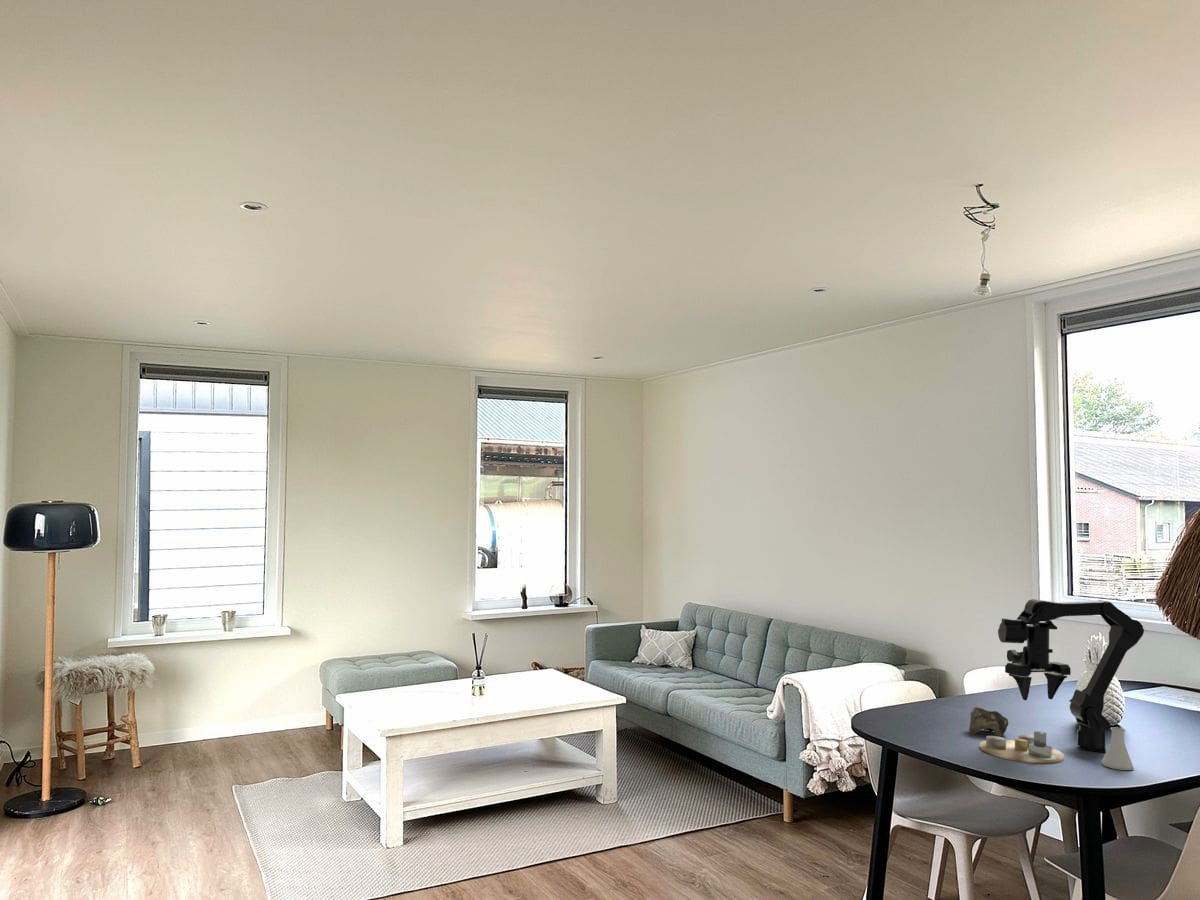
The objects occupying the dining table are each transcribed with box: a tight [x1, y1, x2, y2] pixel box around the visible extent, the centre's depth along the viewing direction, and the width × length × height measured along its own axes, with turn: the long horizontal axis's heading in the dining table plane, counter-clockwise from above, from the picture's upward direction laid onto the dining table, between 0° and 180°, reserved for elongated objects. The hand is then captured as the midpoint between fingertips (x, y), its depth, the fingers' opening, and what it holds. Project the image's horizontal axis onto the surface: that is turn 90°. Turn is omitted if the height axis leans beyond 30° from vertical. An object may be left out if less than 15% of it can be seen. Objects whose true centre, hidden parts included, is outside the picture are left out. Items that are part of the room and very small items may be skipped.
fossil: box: [968, 706, 1009, 738], centre depth 267 cm, size 11×9×10 cm
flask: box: [1101, 726, 1135, 771], centre depth 237 cm, size 7×7×10 cm
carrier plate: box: [979, 733, 1065, 764], centre depth 247 cm, size 21×21×3 cm
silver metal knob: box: [1028, 730, 1053, 758], centre depth 242 cm, size 6×6×6 cm
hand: (1037, 699), depth 256 cm, fingers open, 9 cm apart
